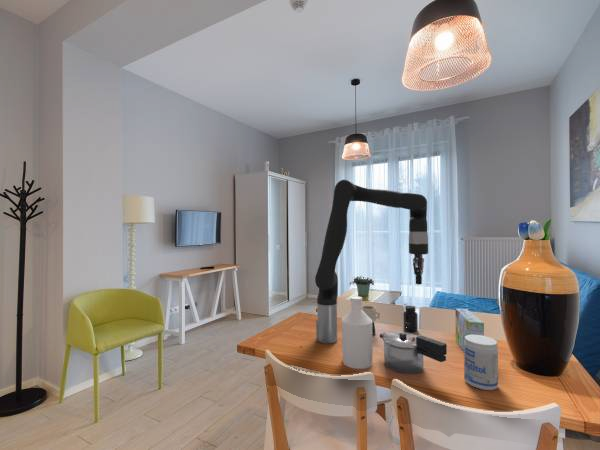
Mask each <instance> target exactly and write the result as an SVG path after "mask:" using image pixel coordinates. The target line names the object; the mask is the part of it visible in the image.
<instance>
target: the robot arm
mask: <svg viewBox="0 0 600 450" xmlns="http://www.w3.org/2000/svg"><path fill="white" fill-rule="evenodd" d="M351 202H363V203H370V204H374V205H375V204H376V205H380V206H384V207H389V208H394V209H396V208H397V209H405V210H409V223H408V224H409V225H408V227H409V229H408V231H409V233H408V254H410V255H413V256H414V258H412V267H413V274H414V275H415V284H416V285H422V284H423V277H422V276H423V273H424V263H425V258H423V255H428V254H429V235H428V220H427V217H428V215H427V212H428V200H427V198H426V197H425V196H424V195H422V194H419V193H413V192H402V191H395V190H390V189H384V188H383V189H380V188H368V187H363V186H360V185H357V184H354V183H353V182H351V181H350V180H349V179H342V180H339V181H338V182H337V183H336V184H335V186H334V189H333V199H332V206H331V211H330V215H329V218H328V223H327V227H326V231H325V236H324V241H323V246H322V253H321V257H320V261H319V264H318V268H317V271H316V274H315V277H314V281H315V284H316V285H315V286H316V287H317V289H318V295H317V297H316V301H317V302H316V306H317V307H316V308H317V309H316V311H317V312H316V313H317V316H316V317H317V319H316V321H315V322H316V324H315V326H316V327H315V329H316V336H315V337H316V338H315V339H316V342H320V343H322V344H334V343H336V342H337V341H338V295H339V293H338V292H339V290H338V289H339V288H338V287H339V280H338V275H337V274H338V273H337V272H336V271H335V270H336V265H337V263H338V259H339V257H340V255H341V252H342V250H343V247H344V244H345V242H346V238H347V233H348V212H349V211H348V209H349V207H350V203H351Z"/></svg>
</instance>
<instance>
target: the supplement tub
mask: <svg viewBox="0 0 600 450" xmlns="http://www.w3.org/2000/svg"><path fill="white" fill-rule="evenodd" d="M463 376H464V381H465V382H466V383H467V384H468V385H469V386H471V387H474V388H475V387H476V389H478V388H479V390H484V391H494V390H496V389H498V387H499V346H498V341H497V340H496V339H494V338H492V337H490V336H486V335H484V336H482V335H466V336H465V340H464V351H463Z"/></svg>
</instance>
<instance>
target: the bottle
mask: <svg viewBox="0 0 600 450" xmlns="http://www.w3.org/2000/svg"><path fill="white" fill-rule="evenodd" d="M350 302H351V309H350V310H349V311H348V312H347V313H346V314H345V315H344V317H342V318H341V337H342V339H341V342H342V343H341V344H342V363H343V365H345V366H346V367H349V368H352V369H357V370H359V369H360V370H363V369H369V368H370V367H372V365H373V334H372V320H371V319H370V318H369V317H368V316H367V315H366V313H365V312H364V311H363V310H362V306H363V303H362V302H363V297H362V296H357V295H356V296H350Z"/></svg>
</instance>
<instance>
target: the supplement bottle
mask: <svg viewBox="0 0 600 450" xmlns="http://www.w3.org/2000/svg"><path fill="white" fill-rule="evenodd" d="M404 310H405V311H404V312H403V313H402V314H403V316H402V318H403V319H402V320H403V321H402V322H403V323H402V324H403V325H402V326H403V327H402V328H403V331H405V332H406V333H417V332H418V331H419V330H418V329H419V328H418V324H419V323H418V321H419V320H418V316H419V315H418V313H417V312H416V306H413V305H405V308H404ZM406 327H407V328H406Z"/></svg>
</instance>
